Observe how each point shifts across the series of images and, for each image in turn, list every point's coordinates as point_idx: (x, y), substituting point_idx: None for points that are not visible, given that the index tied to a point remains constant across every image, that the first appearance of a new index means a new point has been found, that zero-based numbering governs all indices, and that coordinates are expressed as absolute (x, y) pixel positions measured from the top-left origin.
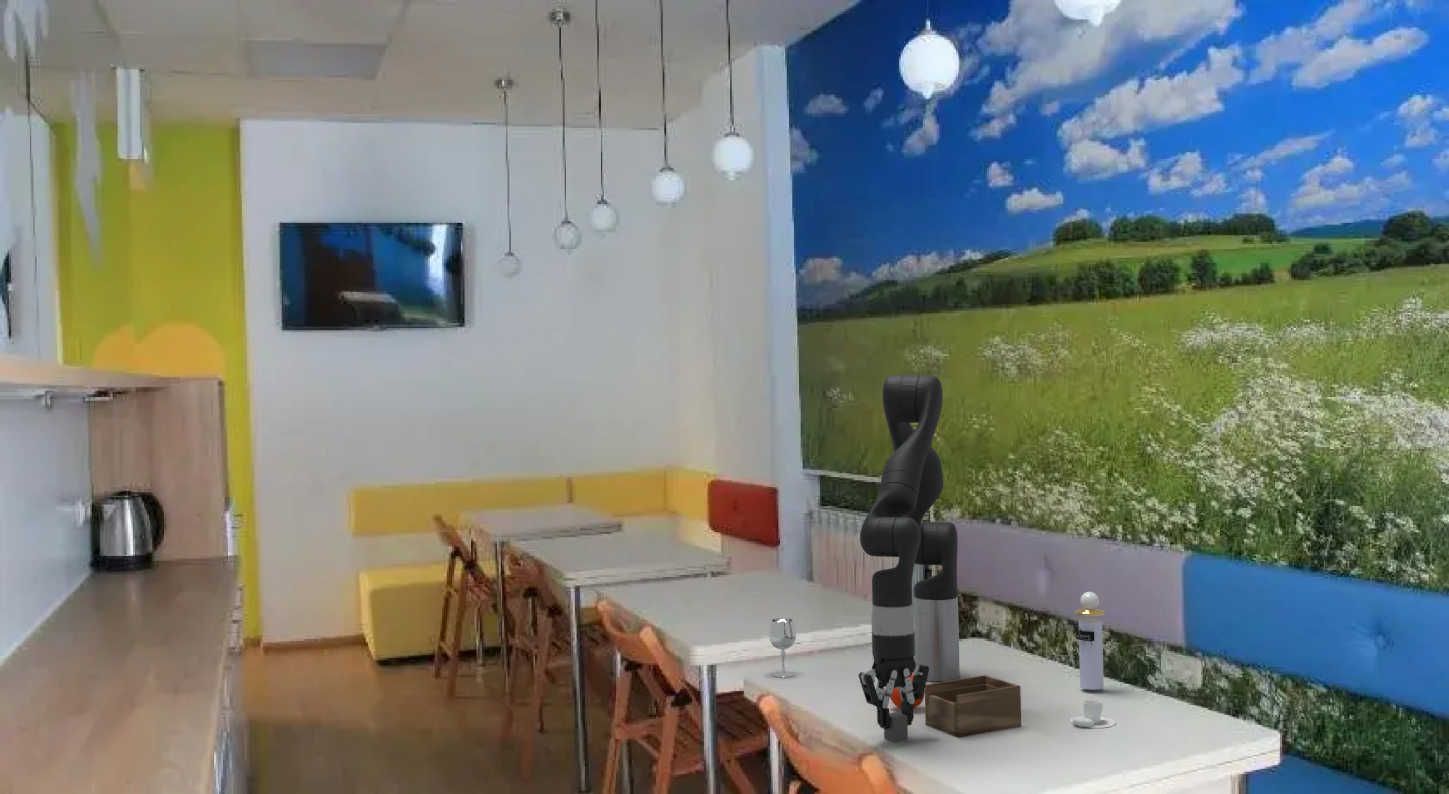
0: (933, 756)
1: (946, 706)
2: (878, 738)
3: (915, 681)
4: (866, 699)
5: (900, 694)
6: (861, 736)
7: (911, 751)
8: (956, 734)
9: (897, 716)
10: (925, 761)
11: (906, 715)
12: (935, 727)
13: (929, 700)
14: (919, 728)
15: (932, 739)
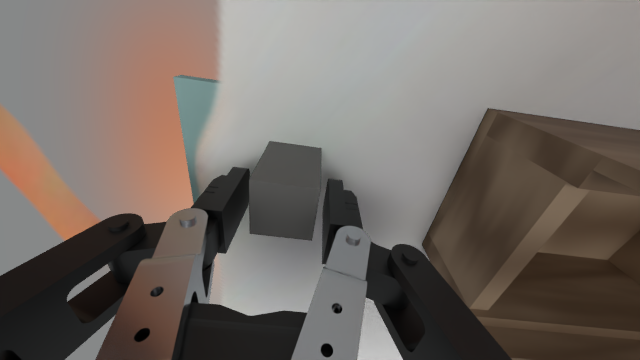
0: (280, 284)
1: (481, 266)
2: (257, 125)
3: (429, 348)
4: (90, 234)
5: (329, 254)
6: (219, 69)
7: (263, 247)
8: (428, 241)
9: (273, 231)
10: (248, 293)
11: (308, 239)
12: (465, 161)
13: (545, 176)
14: (438, 124)
15: (369, 217)
